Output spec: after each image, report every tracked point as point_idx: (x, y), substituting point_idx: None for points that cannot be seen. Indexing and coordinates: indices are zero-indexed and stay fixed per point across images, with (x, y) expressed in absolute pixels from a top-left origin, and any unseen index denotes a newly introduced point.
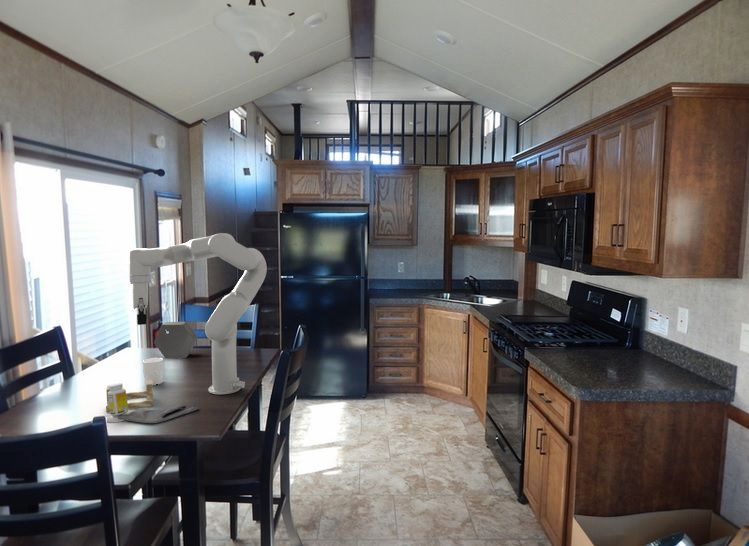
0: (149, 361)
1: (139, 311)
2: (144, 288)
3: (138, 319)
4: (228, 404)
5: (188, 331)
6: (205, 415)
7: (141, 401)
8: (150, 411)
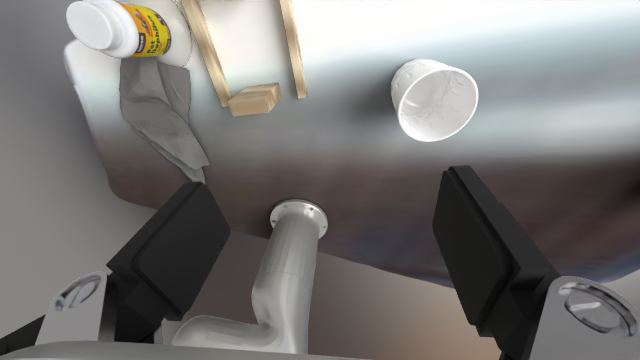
0: (469, 88)
1: (6, 341)
2: None
3: (160, 224)
4: (225, 217)
5: None
6: (178, 189)
7: (214, 80)
8: (167, 106)
